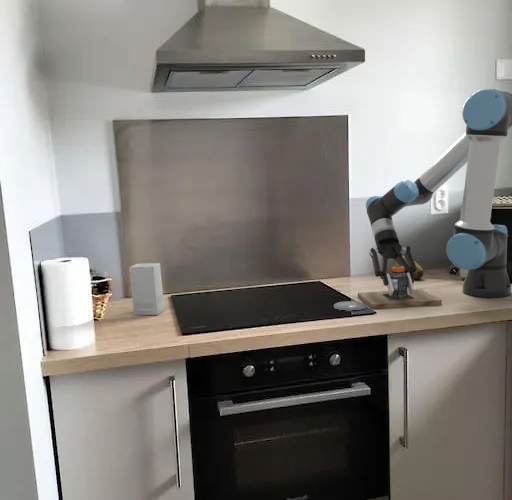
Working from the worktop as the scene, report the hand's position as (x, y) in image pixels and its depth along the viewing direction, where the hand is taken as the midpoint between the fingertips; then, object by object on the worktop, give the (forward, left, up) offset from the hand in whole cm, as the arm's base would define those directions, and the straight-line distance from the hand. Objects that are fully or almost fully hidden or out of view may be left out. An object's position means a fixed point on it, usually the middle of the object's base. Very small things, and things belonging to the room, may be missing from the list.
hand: (402, 292), depth 178 cm
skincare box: (+80, -8, -4) cm, 80 cm away
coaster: (+17, 0, -4) cm, 17 cm away
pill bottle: (0, -4, -4) cm, 5 cm away
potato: (-16, -38, -4) cm, 41 cm away
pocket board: (0, -4, -4) cm, 5 cm away
